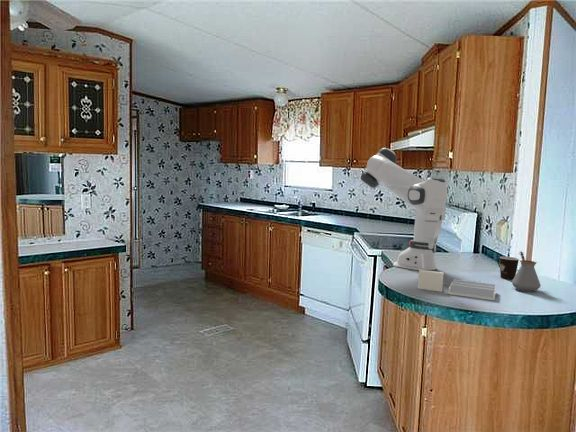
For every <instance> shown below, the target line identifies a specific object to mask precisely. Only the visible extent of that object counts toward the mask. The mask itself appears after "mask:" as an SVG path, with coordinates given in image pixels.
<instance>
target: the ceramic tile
mask: <svg viewBox="0 0 576 432" xmlns="http://www.w3.org/2000/svg"><path fill="white" fill-rule="evenodd" d="M444 274H445V273H444V272H443V271H442V272H441V271H435V270H434V271H433V270H418V283H417V284H418V285H417V288H419V290H425V289H426V290H427V291H435V292H440V293H441V292H443V288H444Z"/></svg>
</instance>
